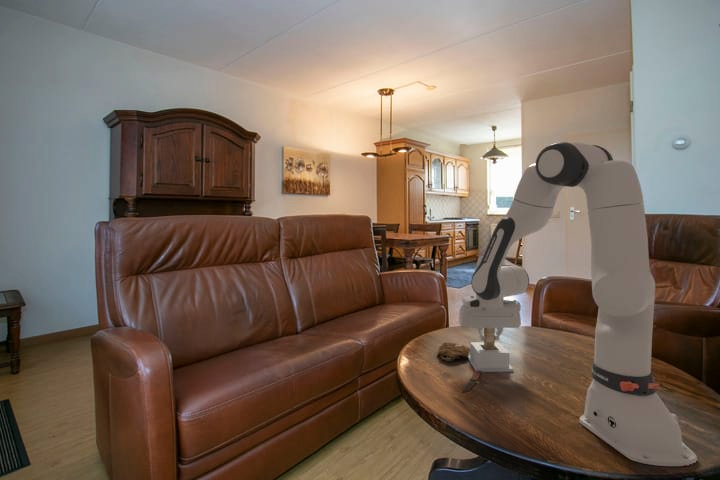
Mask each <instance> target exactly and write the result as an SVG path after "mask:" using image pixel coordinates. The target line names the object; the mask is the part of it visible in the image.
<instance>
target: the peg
mask: <svg viewBox="0 0 720 480" xmlns="http://www.w3.org/2000/svg"><path fill="white" fill-rule="evenodd" d="M483 330H484V331H483V334H484V335H485V340H483V342H484V350H494V344H495V342H496V340H495V334H496V333H495V331H496V328H483Z"/></svg>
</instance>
